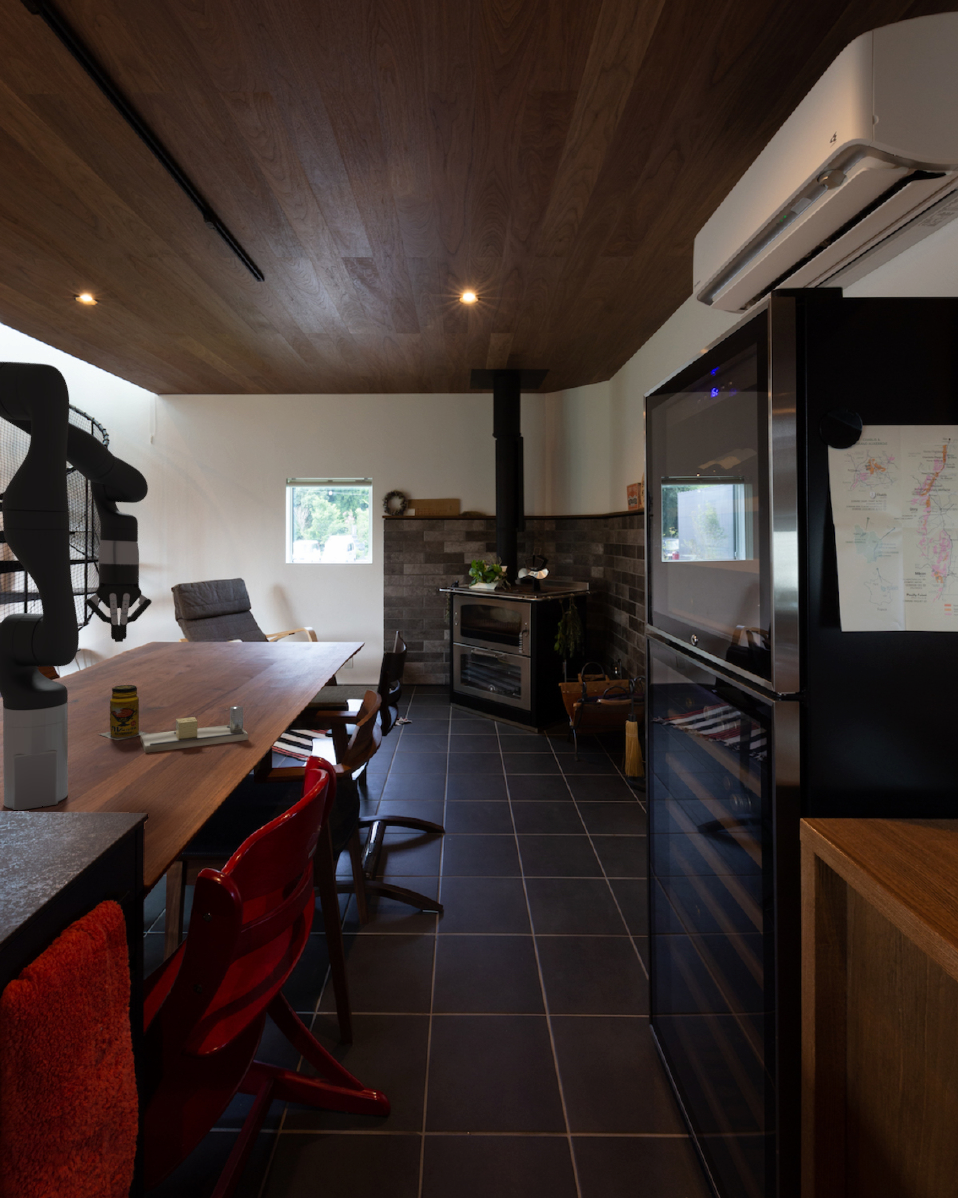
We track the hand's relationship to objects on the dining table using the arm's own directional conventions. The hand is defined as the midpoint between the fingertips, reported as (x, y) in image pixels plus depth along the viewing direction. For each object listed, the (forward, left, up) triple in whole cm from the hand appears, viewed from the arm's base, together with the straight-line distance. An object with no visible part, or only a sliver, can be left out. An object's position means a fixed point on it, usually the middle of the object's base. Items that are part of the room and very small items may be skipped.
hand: (118, 641), depth 132 cm
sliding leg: (+2, -14, -23) cm, 27 cm away
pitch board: (+3, -16, -25) cm, 30 cm away
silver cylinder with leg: (+3, -25, -23) cm, 34 cm away
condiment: (+16, -2, -25) cm, 30 cm away
